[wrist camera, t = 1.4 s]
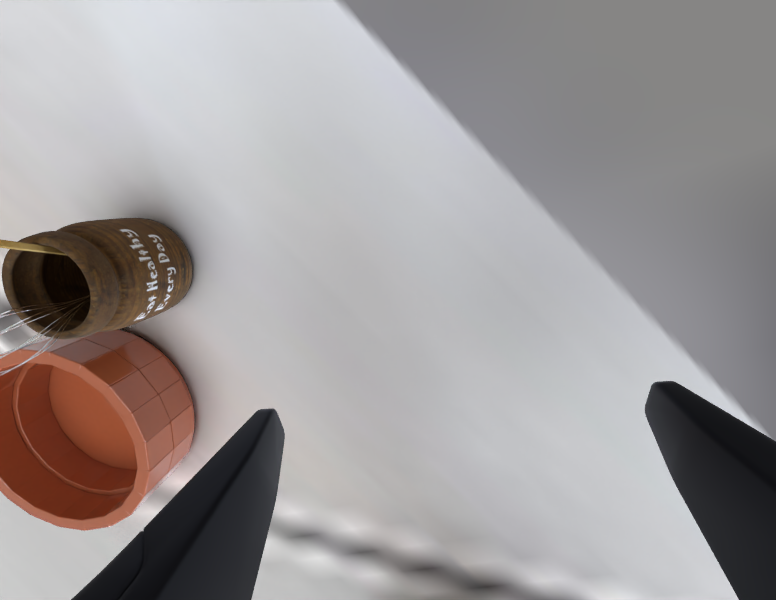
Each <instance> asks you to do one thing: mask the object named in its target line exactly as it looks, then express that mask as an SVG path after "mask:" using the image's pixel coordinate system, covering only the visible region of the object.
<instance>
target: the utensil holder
mask: <svg viewBox="0 0 776 600" xmlns="http://www.w3.org/2000/svg"><path fill="white" fill-rule="evenodd" d="M0 248H7V249H10V250H9V251H8V253H7V255H6V257H5V259H4V263H3V268H2V281H3V287H4V291H5V294H6V296H7V299H8V301H9V303H10V305H11V307H12V308H13V309H12V310H9V311H7V312H10V311H13V310H14V311H15V313H16V314H17V315H18V316H19V317H20V319H21V320H22V321H23V322H24V324H27V325H28V326H29V327H30V328H32V329H33V330H35V331H36V332H38V334H42V335H44V336H47V337H50V338H51V339H50V340H49V342H50V341H51V340H52V339H53V338H54V339H56V340H57V339H64V340H65V339H74V338H79V337H84V336H88V335H91V334H94V333H96V332H106V331H113V330H118V329H121V328H124V327H127V326H130V325H133V324H135V323H138V322H140V321H143V320H145V319H147V318H150V317H152V316H155V315H157V314H159V313H161V312H163V311H166V310H168V309H169V308H171V307H173V306H174V305H176V304H177V303H178V302H179V301H181V300H182V298H183V297H184V296H185V295H186V293H187V291H188V289H189V287H190V284H191V280H192V263H191V259H190V256H189V253H188V251H187V249H186V247H185V245H184V243H183V242H182V241H181V239H180V238H179V237H178V236H177V235H176V234H175V233H174V232H173V231H172V230H171V229H169V228H168V227H166V226H165V225H163V224H161V223H158V222H156V221H153V220H149V219H142V218H121V219H107V220H96V221H86V222H80V223H75V224H71V225H68V226H65V227H63V228H60V229H59V230H57V231H48V232H42V233H39V234H35V235H32V236H29V237H26V238H24V239H21V240H20V241H18V242H14V241H7V240H0ZM7 312H4V313H2V314H5V313H7ZM15 313H11V314H15ZM2 314H0V315H2ZM11 314H7V315H11ZM7 315H4V316H7ZM4 316H1V317H4ZM1 317H0V318H1ZM22 321H20V322H22ZM20 322H18V323H20ZM18 323H16V324H18ZM16 324H14V325H16ZM24 324H21V325H19V326H22V325H24ZM14 325H12V326H10V327H8V328H6V329H4V330H3V331H5V330H7V329H9V328H11V327H13V326H14ZM19 326H17V327H19ZM17 327H14V328H17ZM14 328H12V329H14ZM12 329H9V330H7V331H5V332H8V331H10V330H12ZM3 331H1V332H3ZM1 332H0V333H1ZM5 332H3V333H5ZM3 333H1V334H3ZM1 334H0V335H1ZM38 334H37V335H38ZM37 335H35V336H34V337H36V336H37ZM42 335H40V336H39V337H41V336H42ZM34 337H33V338H34ZM39 337H37V338H39ZM33 338H31V339H33ZM37 338H35V339H33V340H32V341H34V340H36V339H37ZM31 339H30V340H31ZM30 340H28V341H27V342H28V343H30V342H32V341H30ZM56 340H55V341H54V342H53V343H52V344H51V345H50V346H52V345H53V344H54V343H55V342H56ZM29 341H30V342H29ZM27 342H25V343H24V344H22V345H21V346H19V347H18V348H16V349H14V350H13V351H11V352H9V353H7V354H5V355H3V356H0V359H1V358H3V357H5V356H6V355H8V354H10V353H12V352H14V351H16V350H18V349H19V348H21V347H23V346H25V345H27V344H28V343H27ZM49 342H48V343H49ZM48 343H47V344H48ZM47 344H46V345H47ZM46 345H45V346H46ZM45 346H44V347H45ZM50 346H49V347H50ZM44 347H43V348H44ZM49 347H48V348H49ZM43 348H42V349H43ZM48 348H46V349H45V350H47V349H48ZM42 349H41V350H42ZM41 350H40V351H41ZM45 350H43V351H42V352H41V353H43V352H44V351H45ZM40 351H38V352H37V353H36V354H37V355H36V354H35V355H36V356H38V355H39V354H41V353H39V352H40ZM38 353H39V354H38ZM35 355H33V356H32V357H31V358H29V359H27V360H26V361H24V362H23V363H21V364H19V365H17V366H16V367H14V368H12V369H9V370H6V371H2V372H0V373H3V372H5V373H7V372H9V371H11V370H13V369H15V368H17V367H19V366H21V365H22V364H24V363H26V362H28V361H29V360H31V359H33V358H35V357H36V356H35ZM5 373H3V374H5ZM3 374H1V375H3ZM1 375H0V376H1Z"/></svg>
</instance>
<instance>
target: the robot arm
mask: <svg viewBox="0 0 776 600" xmlns="http://www.w3.org/2000/svg"><path fill="white" fill-rule="evenodd" d="M645 414H646V417H647V420H648V422H649V425H650V427H651V429H652V432H653V434H654V436H655V439H656V441H657V444H658V446H659V448H660V451H661V453H662V455H663V458H664V460H665V463H666V465H667V467H668V470H669V472H670V474H671V476H672V478H673V480H674V482H675V484H676V486H677V488H678V490H679V492H680V494H681V495H682V497H683V499H684V501H685V503H686V504H687V506H688V508H689V510H690V512H691V513H692V515H693V517H694V519H695V521H696V523H697V524H698V526H699V528H700V530H701V532H702V533H703V535H704V537H705V539H706V541H707V542H708V544H709V546H710V548H711V550H712V552H713V553H714V555H715V557H716V559H717V561H718V562H719V564H720V566H721V568H722V570H723V571H724V573H725V575H726V577H727V579H728V580H729V582H730V584H731V586H732V588H733V590H734V591H735V593H736V595H737V597H738V599H739V600H776V441H774V440H772V439H771V438H769V437H767V436H766V435H764V434H762V433H761V432H759V431H757V430H756V429H754V428H752V427H751V426H749V425H747V424H745V423H744V422H742V421H740V420H739V419H737V418H735V417H734V416H732V415H730V414H729V413H727V412H725V411H724V410H722V409H720V408H719V407H717V406H715V405H713V404H712V403H710V402H708V401H707V400H705V399H703V398H702V397H700V396H698V395H697V394H695V393H693V392H692V391H690V390H688V389H686V388H685V387H683V386H681V385H680V384H678V383H676V382H673V381H664V382H655V383H653V384H652V386H651V389H650V392H649V395H648V398H647V402H646V405H645ZM284 439H285V434H284V429H283V426H282V424H281V421H280V419H279V416H278V414H277V412H276V410H275V409H261V410H258V411H257V412H255V414H254V415H253V416H252V417H251V418H250V419H249V420H248V421H247V422H246V423H245V424H244V425H243V426H242V427H241V428H240V429H239V430H238V431H237V432H236V433H235V434H234V435H233V436H232V437H231V438H230V439H229V441H228V442H227V443H226V444H225V445H224V446H223V447H222V448H221V449H220V450H219V451H218V452H217V453H216V454H215V455H214V456H213V457H212V458H211V459H210V460H209V461H208V462H207V463H206V464H205V465H204V466H203V468H202V469H201V470H200V471H199V472H198V473H197V474H196V475H195V476H194V477H193V478H192V479H191V480H190V481H189V482H188V483H187V484H186V485H185V486H184V487H183V488H182V489H181V490H180V491H179V492H178V493H177V495H176V496H175V497H174V498H173V499H172V500H171V501H170V502H169V503H168V504H167V505H166V506H165V507H164V508H163V509H162V510H161V511H160V512H159V513H158V514H157V515H156V516H155V517H154V518H153V519H152V520H151V522H150V523H149V524H148V525H147V526H146V527H145V528H144V532H143V531H141V532H140V533H139V534H138V535H137V536H136V537H135V538H134V539H133V540H132V541H131V542H130V543H129V544H128V545H127V546H126V547H125V548H124V549H123V550H122V551H121V552H120V553H119V554H118V555H117V556H116V557H115V558H114V559H113V560H112V561H111V562H110V563H109V564H108V565H107V566H106V567H105V568H104V569H103V570H102V571H101V572H100V573H99V574H98V575H97V576H96V577H95V578H94V579H93V580H92V581H91V582H90V583H89V584H87V585H86V586H85V587H84V588H83V589H82V590H81V591H80V592H79V593H78V594H77V595H76V596H75V597H74V598H73V599H71V600H251V598H252V594H253V590H254V586H255V582H256V578H257V574H258V570H259V566H260V562H261V558H262V554H263V550H264V546H265V542H266V538H267V534H268V530H269V526H270V522H271V518H272V514H273V510H274V506H275V501H276V496H277V490H278V483H279V476H280V468H281V461H282V454H283V447H284Z"/></svg>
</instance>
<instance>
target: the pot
mask: <svg viewBox="0 0 776 600" xmlns="http://www.w3.org/2000/svg"><path fill="white" fill-rule="evenodd" d="M50 339H51V338H50V337H47V338H44V339H41V340H38V341H35V342H33V343H30V344H27V345H25V346H23V347H21V348H19V349H18V350H16V351H14V352H12V353H10V354H8V355H6V356H5V357H3V358H1V359H0V372H2V371H6V370H9V369H12V368H14V367H16V366H17V365H19V364H21V363H23V362H24V361H26V360H27V359H29V358H31V357H32V356H33V355H35V354H36V353H37V352H38V351H40V350H41V349H42V348H43V347H44V346H45V345H46V344H47V343H48V342H49V340H50ZM55 340H56V339H54V338H53V339H52V340H51V341H50V342H49V343H48V344H47V345H46V346H45V347H44V348H43V349H42V350H41V351H40V352H39V353H41V352H42V351H43V350H45V349H46V348H48V347H49V346H50V345H51V344H52V343H53V342H54V341H55ZM13 350H14V349H13ZM13 350H10V351H8V352H5V353H2V354H0V356H3V355H5V354H7V353H9V352H11V351H13ZM39 353H38V354H39ZM36 355H37V354H36ZM36 355H35V356H36ZM3 373H5V372H3ZM3 373H0V375H1V374H3ZM194 416H195V415H194V407H193V402H192V398H191V395H190V392H189V390H188V387H187V385H186V383H185V381H184V379H183V377H182V376H181V374H180V373H179V371H178V370H177V368H176V367H175V366H174V364H173V363H172V362H171V361H170V360H169V359H168V358H167V357H166V356H165V355H164V354H163V353H162V352H161V351H160V350H159V349H157V348H156V347H155V346H153V345H152V344H151V343H149V342H147V341H146V340H144V339H142V338H140V337H138V336H136V335H134V334H132V333H129V332H126V331H123V330H119V329H118V330H113V331H106V332H96V333H94V334H91V335H88V336H84V337H79V338H74V339H65V340H64V339H57V340H56V342H55V343H54V344H53V345H52V346H50V347H49V348H48V349H47V350H45V351H44V352H43V353H41V354H39V355H38V356H36V357H35V358H33V359H31V360H29V361H28V362H26V363H24V364H22V365H21V366H19V367H17V368H15V369H13V370H11V371H9V372H7V373H5V374H3V375H1V376H0V491H1V492H2V493H3V494H4V495H5V496H6V497H7V498H8V499H9V500H10V501H12V502H13V503H15V504H16V505H17V506H19V507H20V508H22V509H23V510H24V511H26V512H27V513H29V514H30V515H32V516H34V517H37V518H39V519H41V520H44V521H46V522H49V523H51V524H53V525H56V526H59V527H64V528H70V529H77V530H84V531H85V530H92V529H99V528H105V527H110V526H113V525H114V524H116V523H118V522H120V521H121V520H123V519H125V518H126V517H128V516H130V515H131V514H132V513H133V512H134V511H135V510H136V509H137V508H138V507H139V506H140V505H141V504H142V503H143V502H144V501H145V500H146V499H147V498H148V497H149V496H150V495H151V494H152V493H153V492H154V491H155V490H156V489H157V488H158V487H159V486H160V485H161V484H162V483H163V482H164V481H165V480H166V479H167V478H168V477H169V476H170V475H171V474H172V473H173V472H174V471H175V470H176V469H177V467H178V466H179V465H180V463H181V462H182V460H183V459H184V458H185V456H186V455H187V454H188V452H189V450H190V446H191V442H192V438H193V434H194V429H195V427H194Z"/></svg>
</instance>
